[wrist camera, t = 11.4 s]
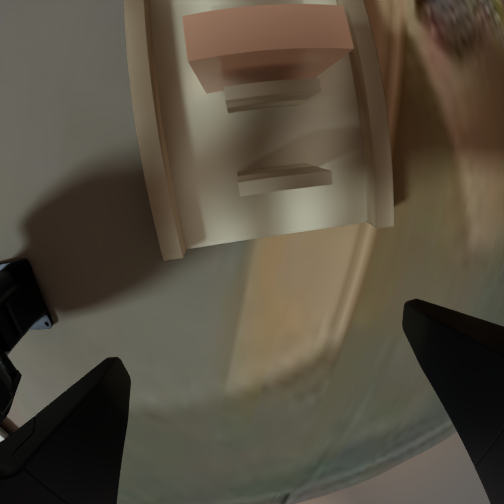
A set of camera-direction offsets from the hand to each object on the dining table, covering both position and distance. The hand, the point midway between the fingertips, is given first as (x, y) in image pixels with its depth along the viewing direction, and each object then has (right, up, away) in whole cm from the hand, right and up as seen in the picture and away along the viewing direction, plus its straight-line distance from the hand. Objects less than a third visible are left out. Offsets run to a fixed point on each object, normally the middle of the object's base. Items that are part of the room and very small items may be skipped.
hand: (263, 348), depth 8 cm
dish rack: (0, +14, +8) cm, 15 cm away
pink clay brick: (0, +13, +6) cm, 15 cm away
